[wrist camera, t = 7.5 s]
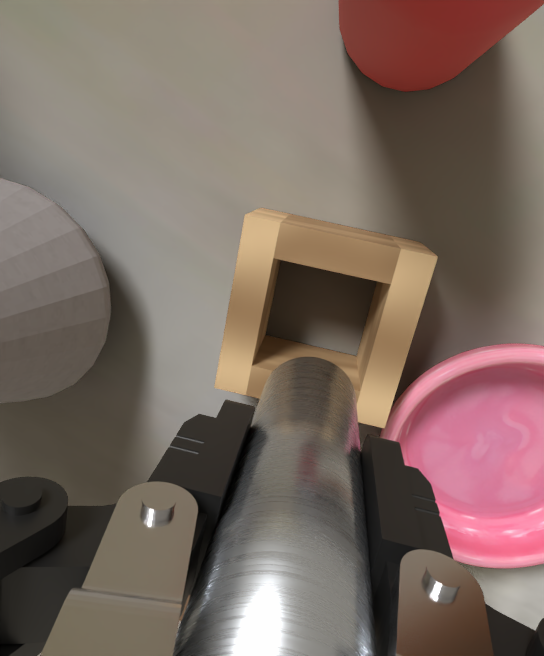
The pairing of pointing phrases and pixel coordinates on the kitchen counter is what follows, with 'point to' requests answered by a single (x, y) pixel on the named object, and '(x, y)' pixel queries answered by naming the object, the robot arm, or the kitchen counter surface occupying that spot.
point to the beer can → (424, 36)
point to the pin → (290, 531)
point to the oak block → (338, 256)
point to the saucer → (481, 450)
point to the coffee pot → (47, 297)
